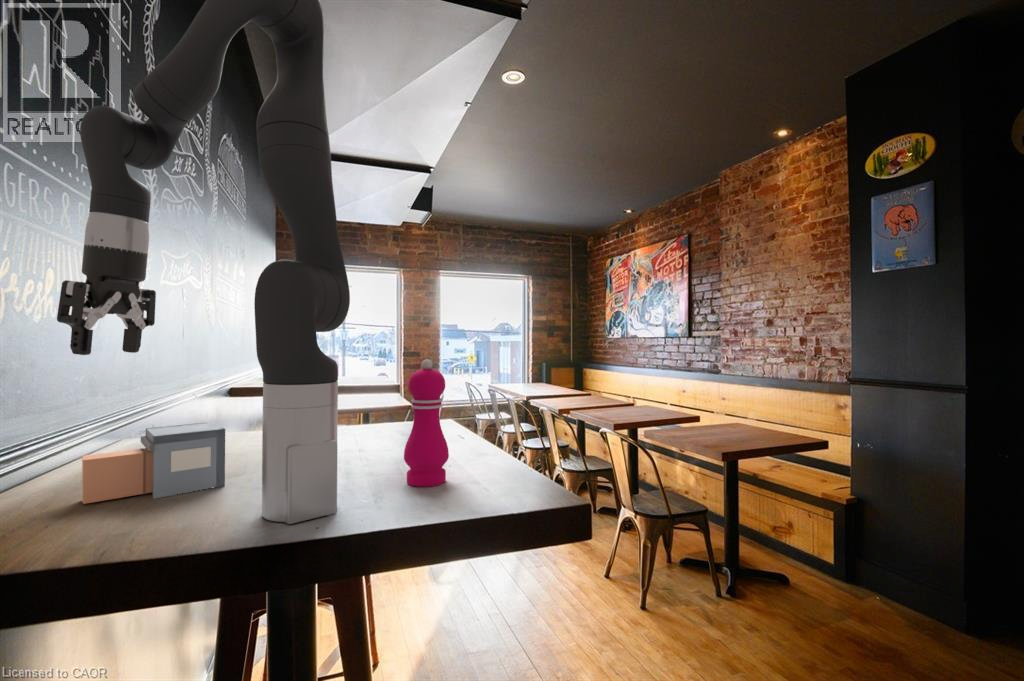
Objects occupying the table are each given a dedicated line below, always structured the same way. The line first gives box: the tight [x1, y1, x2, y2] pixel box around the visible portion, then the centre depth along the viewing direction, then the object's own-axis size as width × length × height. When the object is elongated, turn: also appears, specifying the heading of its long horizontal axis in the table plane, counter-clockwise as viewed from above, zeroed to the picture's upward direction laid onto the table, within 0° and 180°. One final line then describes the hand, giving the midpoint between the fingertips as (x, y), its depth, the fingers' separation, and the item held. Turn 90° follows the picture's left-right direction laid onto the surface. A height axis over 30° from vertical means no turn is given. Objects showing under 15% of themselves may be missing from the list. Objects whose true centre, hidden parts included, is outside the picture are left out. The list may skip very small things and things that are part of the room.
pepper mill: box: [403, 358, 450, 488], centre depth 78 cm, size 7×7×20 cm
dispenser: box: [140, 421, 226, 499], centre depth 75 cm, size 9×10×9 cm
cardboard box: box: [81, 447, 153, 505], centre depth 72 cm, size 4×15×6 cm, turn 134°
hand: (107, 353), depth 73 cm, fingers open, 8 cm apart
